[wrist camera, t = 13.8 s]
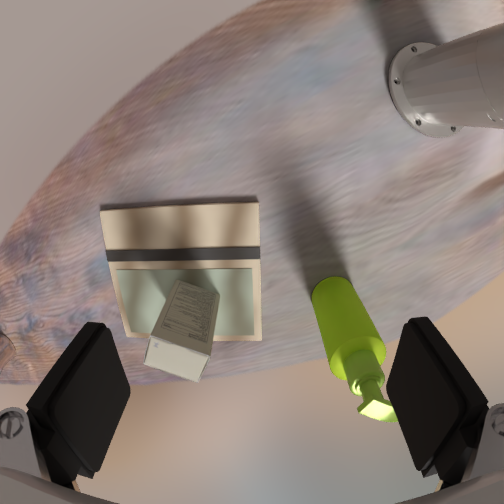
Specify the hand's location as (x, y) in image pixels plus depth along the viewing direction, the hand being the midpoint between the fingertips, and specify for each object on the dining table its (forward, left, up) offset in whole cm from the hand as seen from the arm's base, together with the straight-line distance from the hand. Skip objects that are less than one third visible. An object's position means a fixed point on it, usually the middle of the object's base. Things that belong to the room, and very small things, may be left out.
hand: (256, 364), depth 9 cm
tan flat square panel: (+10, +11, -28) cm, 32 cm away
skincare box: (+8, +13, -28) cm, 32 cm away
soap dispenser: (-10, +14, -28) cm, 33 cm away
